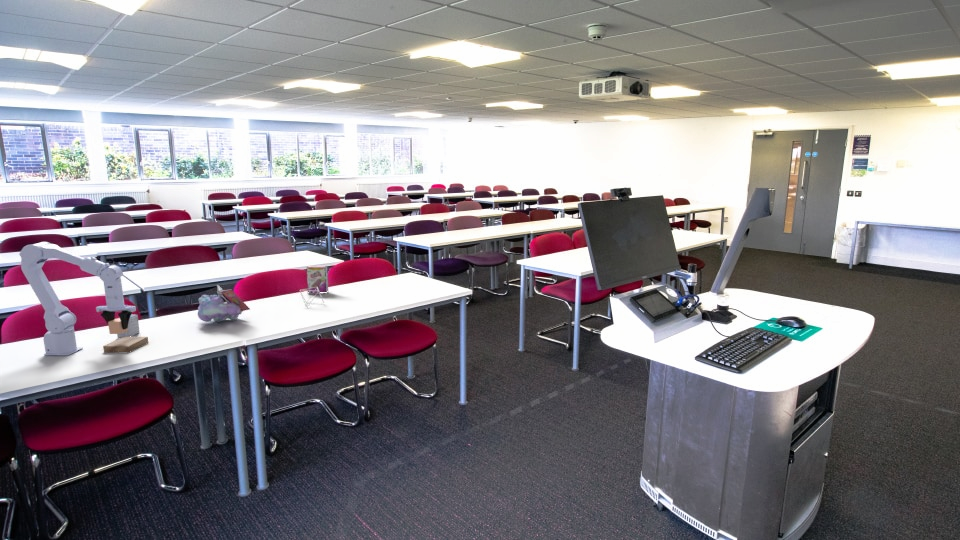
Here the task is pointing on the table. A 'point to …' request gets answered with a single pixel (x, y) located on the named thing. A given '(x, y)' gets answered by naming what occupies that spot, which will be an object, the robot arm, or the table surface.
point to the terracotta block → (116, 327)
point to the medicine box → (131, 327)
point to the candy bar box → (317, 278)
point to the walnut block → (125, 344)
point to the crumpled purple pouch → (221, 306)
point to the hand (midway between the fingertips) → (118, 328)
